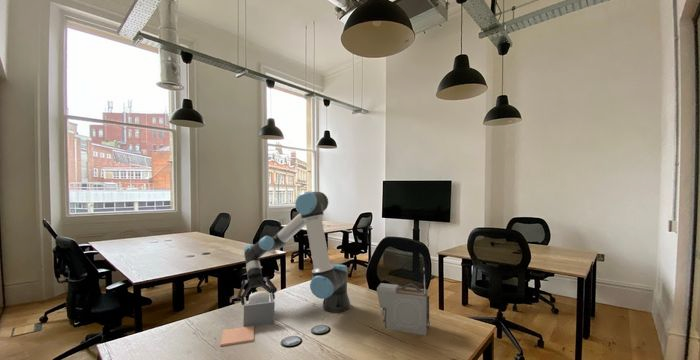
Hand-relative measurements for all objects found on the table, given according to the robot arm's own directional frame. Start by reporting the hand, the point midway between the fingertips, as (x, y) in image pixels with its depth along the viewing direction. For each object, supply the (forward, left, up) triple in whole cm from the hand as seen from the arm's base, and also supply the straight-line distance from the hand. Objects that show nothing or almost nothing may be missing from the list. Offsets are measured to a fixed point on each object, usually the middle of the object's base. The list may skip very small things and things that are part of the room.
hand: (259, 308), depth 144 cm
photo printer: (+2, -1, -5) cm, 6 cm away
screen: (-5, +5, -5) cm, 9 cm away
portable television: (-66, -27, -5) cm, 71 cm away
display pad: (-6, +18, -5) cm, 19 cm away
